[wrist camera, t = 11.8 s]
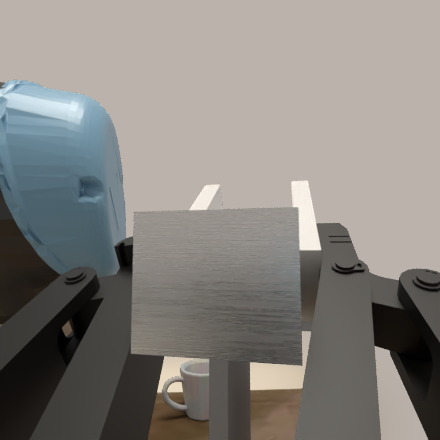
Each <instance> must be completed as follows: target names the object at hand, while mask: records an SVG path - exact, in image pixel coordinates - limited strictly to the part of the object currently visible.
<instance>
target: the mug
mask: <svg viewBox="0 0 440 440" xmlns="http://www.w3.org/2000/svg"><path fill="white" fill-rule="evenodd" d="M180 372H181V376H175V377H172V378H170V379H168V380H167V381H166V382H165V384H164V386H163V389H162V396H163V399H164V401H165V403H166V404H167V405H168V406H170V407H171V408H173V409H176V410H181V411H186V414H187V415H188V417H190V418H191V419H194V420H199V421H206V420H209V359H195V360H191V361H188V362H185V363H183V364H182V365H181V368H180ZM174 382H182V388H183V395H184V402H185V405H180V404H177V403H175V402H173V401H172V400H171V399H170V398H169V396H168V394H167V389H168V387H169V385H170V384H172V383H174Z"/></svg>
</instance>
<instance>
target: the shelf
mask: <svg viewBox="0 0 440 440" xmlns="http://www.w3.org/2000/svg"><path fill="white" fill-rule="evenodd" d="M312 325H313V322H307V321H301V329H302V331H312ZM209 440H251V436H250V362H243V361H229V360H214V359H209Z"/></svg>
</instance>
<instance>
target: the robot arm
mask: <svg viewBox="0 0 440 440" xmlns="http://www.w3.org/2000/svg"><path fill="white" fill-rule="evenodd" d="M291 185H292V186H291V188H292V207H298V208H299V248H300V289H301V321H307V322H313V325H312V331H311V337H310V344H309V350H308V357H307V363H306V369H305V376H304V382H303V388H302V395H301V401H300V407H299V414H298V420H297V427H296V433H295V439H294V440H381V433H380V421H379V405H378V391H377V376H376V362H375V347H374V346H377V347H381V348H384V349H387V350H390V355H391V357H392V360H393V362H394V364H395V366H396V368H397V370H398V373H399V375H400V377H401V380H402V382H403V384H404V386H405V388H406V391H407V393H408V395H409V397H410V400H411V402H412V404H413V406H414V409H415V411H416V413H417V415H418V417H419V420H420V422H421V424H422V426H423V428H424V431H425V433H426V435H427V437H428V440H440V273H439V272H436V271H432V270H428V269H411V270H407V271H405V272H403V273H402V274H401V276H400V277H399V280H393V279H388V278H384V277H380V276H377V275H374V274H372V273H370V272H369V269H368V266H367V265H366V264H365V263H364V262H363V261H361V260H359V259H358V257H357V254H356V252H355V249H354V246H353V244H352V241H351V238H350V237H349V233H348V231H347V229H346V228H345V227H344V226H342V225H341V224H340V223H323V224H322V223H321V224H320V223H319V224H316V221H315V215H314V210H313V205H312V200H311V195H310V191H309V185H308V181H292V182H291ZM217 209H223V204H222V196H221V186H220V185H205V187H204V189H203V190H202V191H201V193H200V194H199V196H198V197H197V199H196V200H195V202H194V203H193V205H192V207H191V208H190V209H189V210H217ZM125 222H126V218H125V201H124V192H123V175H122V166H121V158H120V152H119V145H118V140H117V136H116V132H115V128H114V125H113V123H112V120H111V118H110V116H109V114H108V113H107V112H106V110H105V109H104V108H103V107H102V106H101V105H100V104H99V103H98V102H97V101H96V100H94V99H92V98H90V97H88V96H86V95H83V94H78V93H73V92H67V91H61V90H54V89H49V88H44V87H42V86H41V85H38V84H36V83H33V82H28V81H19V80H12V81H8V82H6V83H2V82H0V440H147V439H148V434H149V429H150V424H151V419H152V414H153V409H154V404H155V399H156V394H157V389H158V384H159V380H160V374H161V370H162V365H163V360H164V356H157V355H142V354H131V321H132V275H133V237H129V238H126V226H125ZM116 273H117V274H116Z"/></svg>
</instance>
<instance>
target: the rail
mask: <svg viewBox="0 0 440 440" xmlns="http://www.w3.org/2000/svg"><path fill="white" fill-rule="evenodd" d="M131 354H142V355H157V356H172V357H186V358H200V359H214V360H229V361H243V362H258V363H272V364H287V365H301V366H302V329H301V289H300V248H299V208H298V207H287V208H252V209H217V210H183V211H148V212H134V230H133V275H132V321H131Z"/></svg>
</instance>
